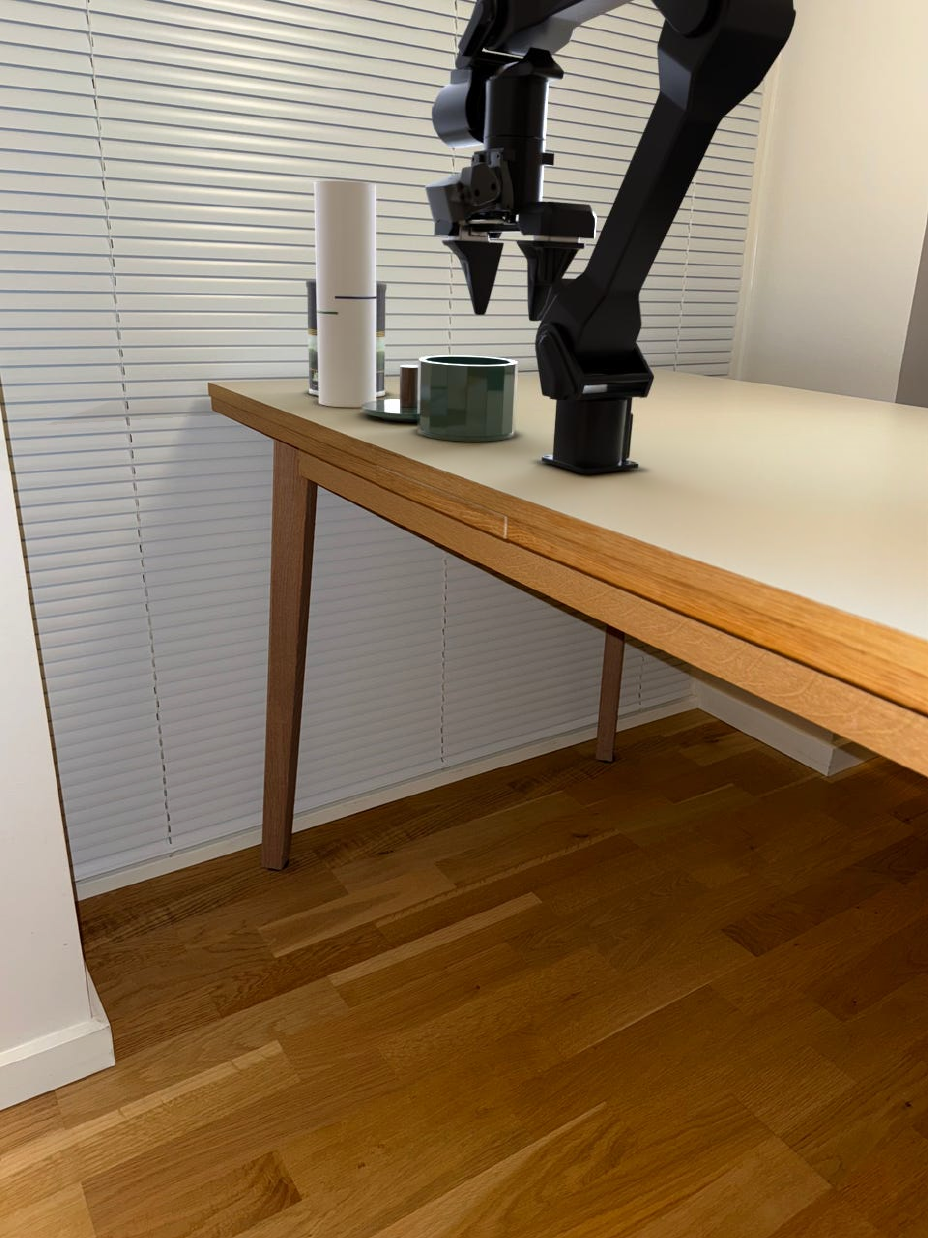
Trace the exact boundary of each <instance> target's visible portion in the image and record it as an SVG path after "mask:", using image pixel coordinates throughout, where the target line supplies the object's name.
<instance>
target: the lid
mask: <svg viewBox="0 0 928 1238" xmlns="http://www.w3.org/2000/svg"><path fill="white" fill-rule="evenodd" d="M417 404H418V365H414V364H402V365H399V398H398V399H397V398H395V399H380V400H379V399H377V400H376V401H371V402H366V403H364V404H362V405H361V407H360V409H361V412H362V413H364V414H366V415H369V416H373V417H377V418H379V419H382V420H387V421H392V422H403V423H404V422H405V423H417Z"/></svg>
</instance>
